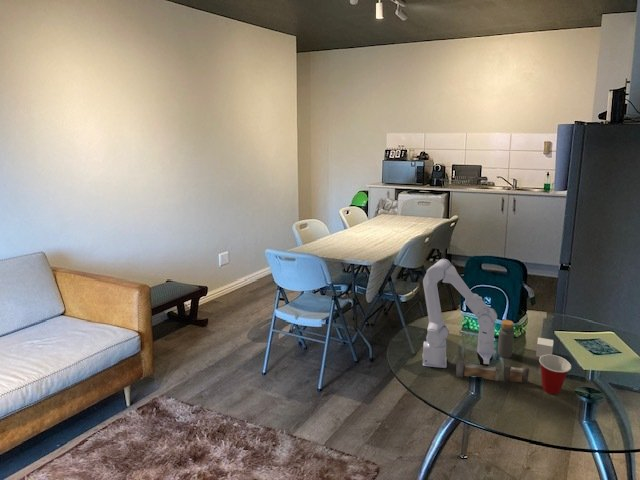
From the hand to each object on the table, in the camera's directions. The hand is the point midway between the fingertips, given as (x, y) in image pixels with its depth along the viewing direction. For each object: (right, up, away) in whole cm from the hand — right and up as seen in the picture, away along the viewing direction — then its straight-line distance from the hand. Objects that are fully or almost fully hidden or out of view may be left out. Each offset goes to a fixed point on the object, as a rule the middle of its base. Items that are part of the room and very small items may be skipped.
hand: (483, 370), depth 194 cm
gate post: (-9, -2, +2) cm, 9 cm away
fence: (+11, -3, -3) cm, 12 cm away
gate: (-1, -2, -1) cm, 3 cm away
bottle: (+14, +3, +16) cm, 21 cm away
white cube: (+30, +3, +15) cm, 34 cm away
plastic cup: (+22, -5, -10) cm, 25 cm away
